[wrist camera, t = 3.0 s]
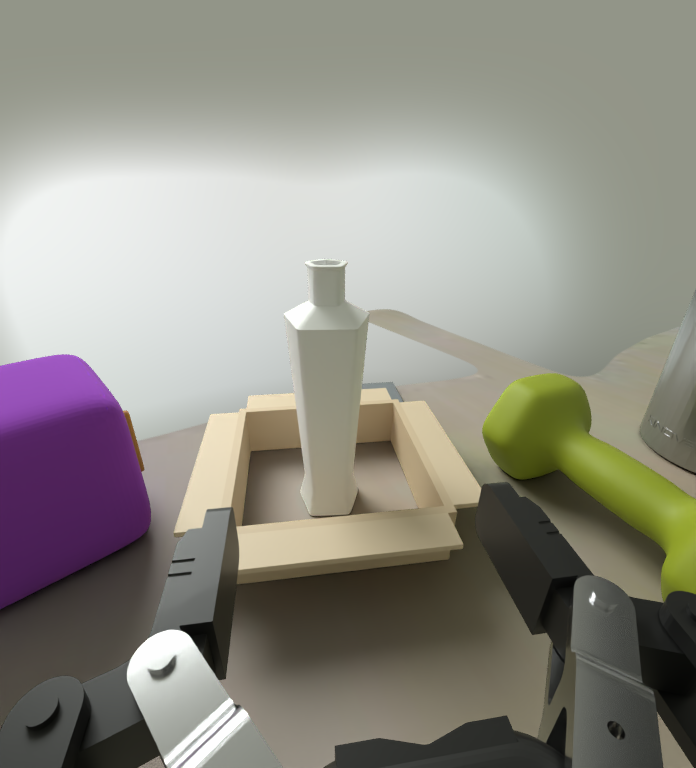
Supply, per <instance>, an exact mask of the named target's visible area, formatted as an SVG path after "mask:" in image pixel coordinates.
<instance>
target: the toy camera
mask: <svg viewBox="0 0 696 768" xmlns="http://www.w3.org/2000/svg"><path fill="white" fill-rule="evenodd" d="M142 471H144V465H143V462H142V458H141V454H140V451H139V447H138V444H137V440H136V436H135V433H134V429H133V426H132V422H131V419H130V415H129V413H128V411H122V409H121V407H120V405H119V403H118V402H117V400H116V399H115V398H114V396H113V395H112V394H111V392H110V391H109V389H108V388H107V387H106V386H105V384H104V383H103V382H102V381H101V380H100V378H99V377H98V376H97V375H96V373H95V372H94V371H93V370H92V369H91V367H89V365H88V364H87V363H86V362H85V361H83V360H82V359H80V358H79V357H77V356H74V355H54V356H48V357H42V358H36V359H31V360H26V361H21V362H16V363H11V364H7V365H2V366H0V609H2V608H4V607H6V606H8V605H10V604H12V603H14V602H16V601H18V600H20V599H22V598H24V597H26V596H28V595H30V594H32V593H34V592H36V591H38V590H40V589H42V588H44V587H46V586H48V585H50V584H52V583H54V582H56V581H58V580H60V579H62V578H64V577H66V576H68V575H70V574H72V573H74V572H76V571H78V570H80V569H82V568H84V567H86V566H88V565H90V564H92V563H94V562H96V561H98V560H100V559H102V558H104V557H106V556H108V555H110V554H111V553H113V552H115V551H117V550H119V549H121V548H123V547H125V546H126V545H128V544H130V543H132V542H133V541H135V540H136V539H138V538H139V537H141V536H142V535H143V534H144V533H145V532H146V531H147V530H148V528H149V525H150V522H151V509H150V503H149V499H148V495H147V491H146V487H145V483H144V480H143V476H142V473H141V472H142Z"/></svg>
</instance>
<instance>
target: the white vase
mask: <svg viewBox="0 0 696 768" xmlns="http://www.w3.org/2000/svg"><path fill="white" fill-rule="evenodd" d="M304 263H305V265H306V266H307V268H308V269H307V270H308V299H309V300H308V301H306V302H304V303H303V304H301V305H299V306H297V307H295V308H293V309H291V310H290V311H288V312H286V313H284V319H285V327H286V334H287V342H288V349H289V356H290V365H291V372H292V379H293V387H294V395H295V402H296V410H297V417H298V425H299V433H300V440H301V448H302V455H303V463H304V470H305V476H304V480H303V483H302V487H301V491H300V493H301V495H302V498H303V500H304V503H305V505H306V507H307V510H308V512H309V514H310V515H311V516H327V515H347V514H350V512H351V510H352V507H353V504H354V501H355V498H356V495H357V492H358V487H357V484H356V481H355V478H354V474H353V468H354V458H355V448H356V438H357V429H358V419H359V409H360V399H361V389H362V379H363V369H364V359H365V350H366V340H367V330H368V320H369V312H367V311H365V310H363V309H361V308H359V307H357V306H355V305H353V304H351V303H349V302H347V301H346V300H345V266H346V265H347V264H348V262H347V261H340V260H331V259H320V260H312V261H305V262H304Z"/></svg>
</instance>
